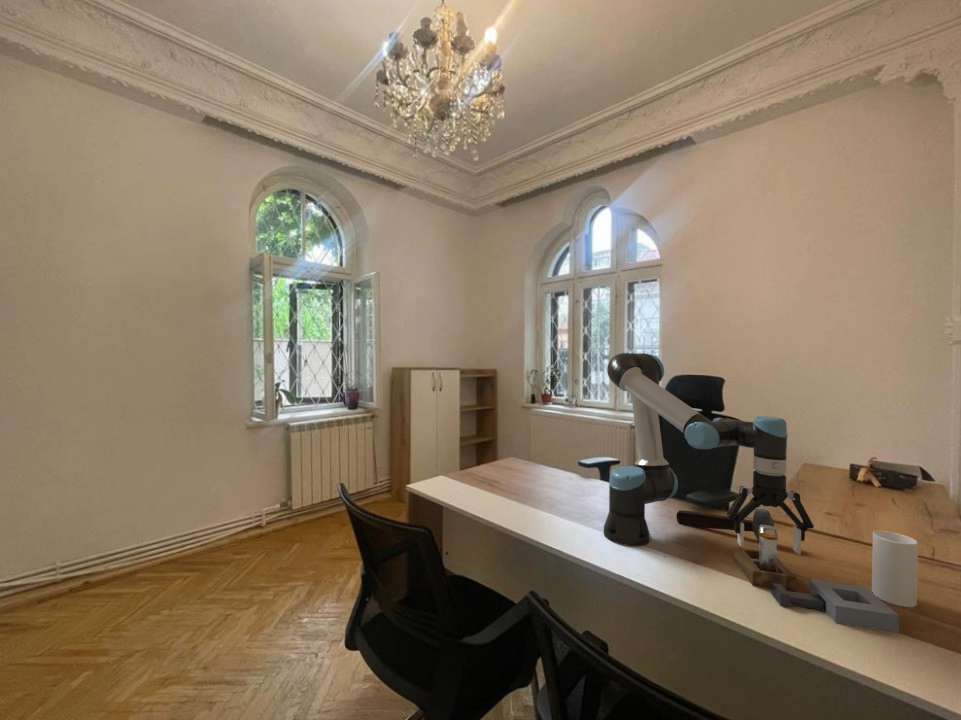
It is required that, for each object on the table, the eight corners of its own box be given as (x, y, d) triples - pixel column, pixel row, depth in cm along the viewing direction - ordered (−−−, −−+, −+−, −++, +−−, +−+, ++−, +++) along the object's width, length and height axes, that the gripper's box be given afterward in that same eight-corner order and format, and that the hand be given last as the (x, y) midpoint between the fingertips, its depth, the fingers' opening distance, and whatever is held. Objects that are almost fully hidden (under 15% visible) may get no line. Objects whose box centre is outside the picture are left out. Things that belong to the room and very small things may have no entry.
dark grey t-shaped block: (780, 605, 100) (780, 593, 100) (771, 594, 105) (771, 582, 105) (827, 612, 98) (828, 600, 98) (816, 601, 102) (817, 589, 102)
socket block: (835, 622, 94) (835, 605, 94) (808, 594, 106) (809, 579, 106) (898, 632, 91) (898, 615, 91) (864, 602, 103) (864, 586, 103)
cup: (863, 589, 109) (864, 530, 109) (890, 588, 109) (891, 530, 109) (897, 608, 100) (898, 544, 100) (926, 607, 101) (927, 543, 101)
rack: (752, 585, 109) (752, 571, 109) (734, 559, 124) (734, 546, 124) (795, 592, 107) (795, 577, 107) (771, 565, 121) (771, 551, 121)
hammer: (677, 534, 150) (776, 548, 132) (674, 503, 151) (771, 513, 133) (680, 530, 154) (776, 543, 136) (677, 500, 155) (771, 509, 137)
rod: (761, 583, 110) (762, 529, 110) (755, 575, 115) (756, 523, 115) (779, 586, 109) (780, 531, 109) (773, 578, 113) (773, 525, 113)
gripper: (723, 471, 112) (722, 547, 112) (830, 480, 105) (829, 561, 105) (715, 465, 119) (714, 536, 119) (815, 473, 112) (813, 548, 112)
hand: (768, 548), depth 112 cm, fingers open, 13 cm apart
